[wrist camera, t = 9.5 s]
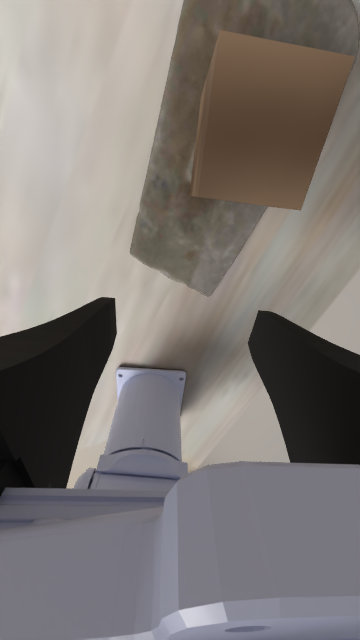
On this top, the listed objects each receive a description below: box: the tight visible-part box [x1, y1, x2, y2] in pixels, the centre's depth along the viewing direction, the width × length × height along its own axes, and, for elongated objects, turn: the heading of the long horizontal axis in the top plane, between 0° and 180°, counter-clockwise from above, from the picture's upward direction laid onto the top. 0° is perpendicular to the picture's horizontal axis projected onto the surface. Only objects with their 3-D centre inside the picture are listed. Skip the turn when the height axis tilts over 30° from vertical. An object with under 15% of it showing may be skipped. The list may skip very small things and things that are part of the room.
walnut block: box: [189, 30, 355, 210], centre depth 11 cm, size 5×5×6 cm
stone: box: [130, 0, 359, 297], centre depth 15 cm, size 18×3×10 cm
